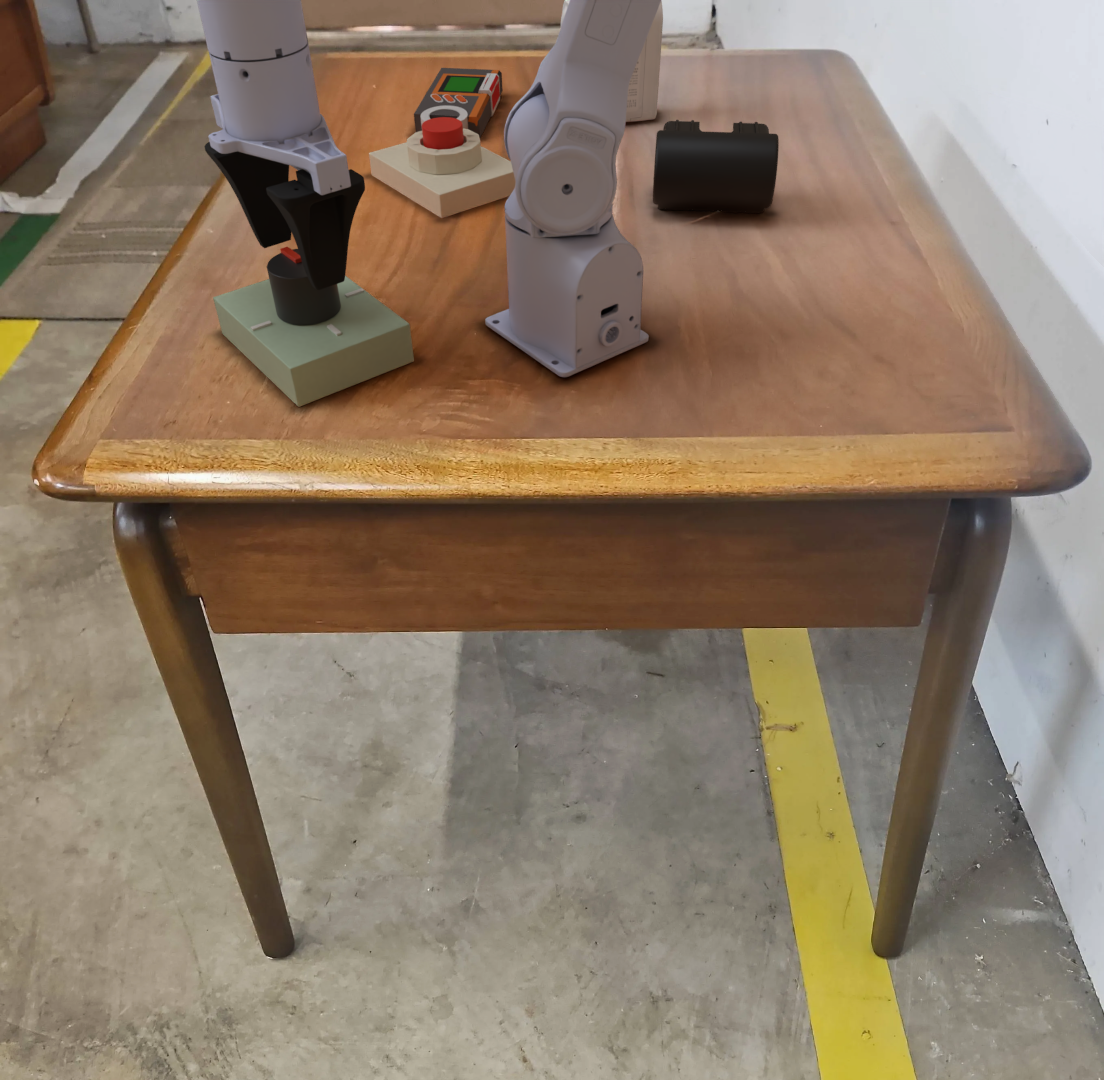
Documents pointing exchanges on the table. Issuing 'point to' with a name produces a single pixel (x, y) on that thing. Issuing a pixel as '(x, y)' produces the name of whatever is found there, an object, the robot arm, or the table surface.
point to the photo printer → (643, 73)
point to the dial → (299, 291)
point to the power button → (442, 133)
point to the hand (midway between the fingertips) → (301, 262)
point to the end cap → (715, 168)
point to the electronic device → (461, 97)
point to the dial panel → (315, 340)
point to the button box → (444, 174)
